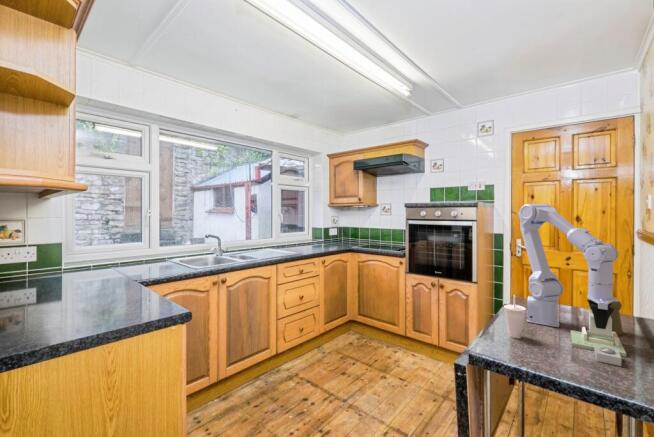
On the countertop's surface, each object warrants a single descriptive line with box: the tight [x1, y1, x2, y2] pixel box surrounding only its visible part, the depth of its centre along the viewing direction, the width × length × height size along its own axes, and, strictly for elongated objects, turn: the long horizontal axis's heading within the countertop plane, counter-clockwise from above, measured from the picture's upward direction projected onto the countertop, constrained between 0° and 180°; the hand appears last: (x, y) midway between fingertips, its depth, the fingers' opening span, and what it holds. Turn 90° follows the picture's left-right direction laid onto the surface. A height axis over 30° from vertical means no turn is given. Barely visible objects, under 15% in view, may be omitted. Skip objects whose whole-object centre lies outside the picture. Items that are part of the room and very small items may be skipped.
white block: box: [588, 312, 612, 337], centre depth 96 cm, size 5×4×5 cm
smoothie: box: [503, 294, 527, 339], centre depth 102 cm, size 6×6×14 cm
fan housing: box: [593, 345, 622, 367], centre depth 86 cm, size 5×6×3 cm
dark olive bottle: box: [609, 300, 624, 336], centre depth 104 cm, size 6×6×11 cm
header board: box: [569, 326, 627, 358], centre depth 95 cm, size 12×12×3 cm
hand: (599, 325), depth 96 cm, fingers closed on white block, 4 cm apart
